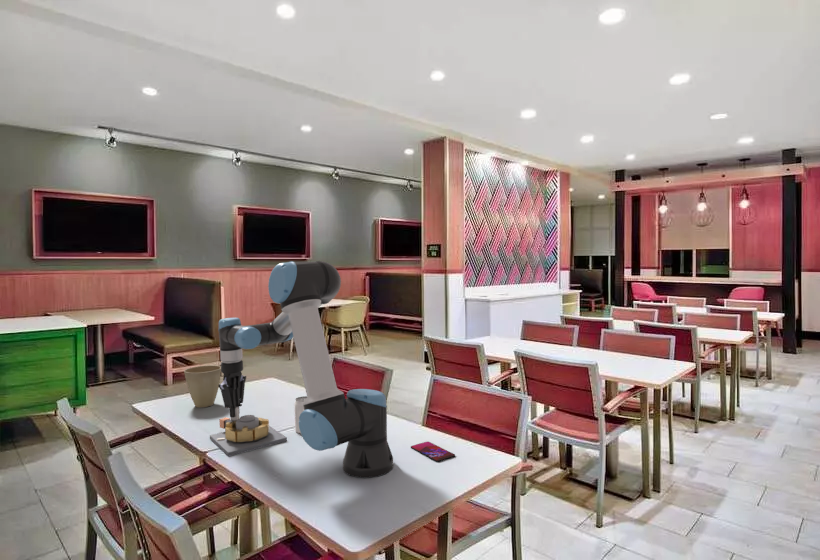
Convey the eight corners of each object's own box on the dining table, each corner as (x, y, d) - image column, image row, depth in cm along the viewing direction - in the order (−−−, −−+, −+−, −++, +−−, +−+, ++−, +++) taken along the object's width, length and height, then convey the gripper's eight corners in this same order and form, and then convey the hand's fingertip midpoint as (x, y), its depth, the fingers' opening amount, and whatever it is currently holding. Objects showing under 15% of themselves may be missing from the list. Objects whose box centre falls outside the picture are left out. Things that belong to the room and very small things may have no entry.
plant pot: (229, 400, 219) (228, 365, 218) (208, 411, 204) (207, 373, 204) (200, 399, 222) (198, 364, 221) (177, 409, 208) (176, 372, 207)
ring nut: (277, 431, 174) (276, 419, 173) (244, 444, 162) (243, 431, 162) (238, 421, 185) (238, 409, 185) (205, 432, 173) (205, 420, 173)
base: (286, 440, 170) (286, 418, 170) (228, 456, 158) (227, 431, 157) (264, 425, 186) (264, 404, 185) (209, 438, 173) (209, 416, 173)
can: (309, 434, 176) (308, 401, 175) (292, 433, 177) (291, 400, 176) (316, 428, 182) (315, 396, 181) (299, 427, 183) (298, 395, 183)
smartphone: (428, 440, 167) (456, 454, 154) (428, 443, 167) (456, 457, 154) (409, 446, 162) (436, 461, 150) (409, 448, 162) (436, 464, 150)
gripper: (234, 356, 184) (237, 418, 186) (210, 364, 172) (214, 430, 173) (251, 357, 182) (254, 419, 184) (228, 365, 170) (232, 432, 171)
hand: (235, 424), depth 178 cm, fingers closed
